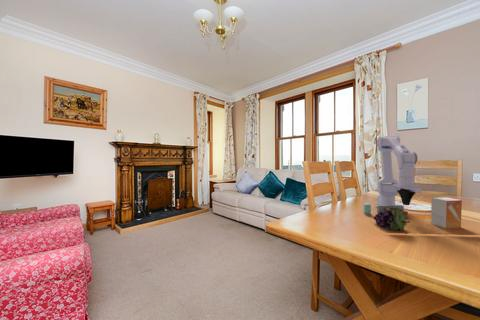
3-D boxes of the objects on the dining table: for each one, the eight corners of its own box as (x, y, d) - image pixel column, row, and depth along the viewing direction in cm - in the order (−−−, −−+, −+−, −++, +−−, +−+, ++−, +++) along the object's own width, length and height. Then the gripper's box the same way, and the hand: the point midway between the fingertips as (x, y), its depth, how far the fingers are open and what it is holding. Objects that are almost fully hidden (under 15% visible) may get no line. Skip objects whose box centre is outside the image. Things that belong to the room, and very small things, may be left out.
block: (384, 213, 110) (384, 207, 110) (397, 213, 110) (398, 208, 109) (393, 217, 103) (393, 211, 103) (407, 217, 103) (407, 211, 102)
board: (376, 213, 112) (377, 204, 112) (401, 214, 111) (401, 205, 111) (400, 225, 94) (400, 214, 94) (429, 225, 93) (430, 215, 93)
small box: (446, 230, 87) (446, 200, 87) (430, 225, 94) (430, 197, 93) (461, 229, 89) (462, 199, 88) (445, 224, 95) (445, 196, 94)
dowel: (362, 214, 112) (362, 203, 112) (368, 214, 111) (368, 203, 111) (365, 215, 108) (365, 204, 108) (372, 216, 108) (372, 204, 108)
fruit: (382, 230, 96) (419, 233, 83) (367, 230, 92) (404, 233, 79) (378, 208, 99) (414, 207, 86) (364, 207, 94) (400, 206, 81)
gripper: (387, 175, 105) (387, 201, 106) (410, 179, 91) (409, 208, 91) (401, 175, 105) (400, 201, 105) (426, 179, 91) (425, 208, 91)
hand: (406, 204), depth 98 cm, fingers closed
